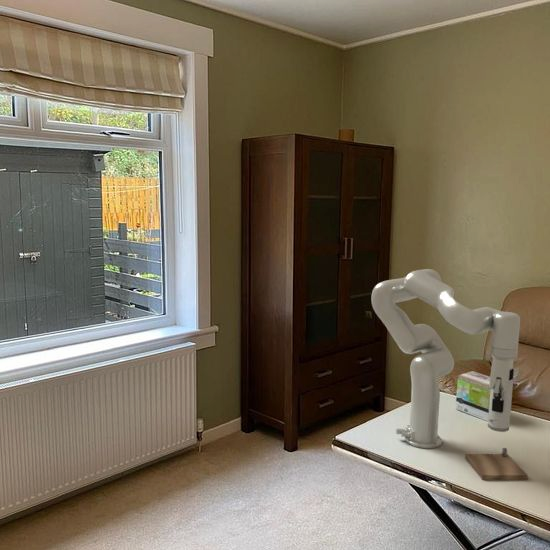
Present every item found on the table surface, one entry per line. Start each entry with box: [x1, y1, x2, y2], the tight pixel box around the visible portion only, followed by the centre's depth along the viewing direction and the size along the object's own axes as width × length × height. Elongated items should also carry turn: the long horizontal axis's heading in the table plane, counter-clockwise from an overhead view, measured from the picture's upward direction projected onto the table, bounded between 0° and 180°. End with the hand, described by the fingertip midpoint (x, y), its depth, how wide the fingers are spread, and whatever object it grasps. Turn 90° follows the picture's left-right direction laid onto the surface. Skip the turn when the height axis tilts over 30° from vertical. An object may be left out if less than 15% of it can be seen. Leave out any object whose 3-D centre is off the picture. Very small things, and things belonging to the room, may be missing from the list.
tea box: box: [455, 370, 491, 423], centre depth 221 cm, size 15×10×15 cm, turn 37°
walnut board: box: [464, 447, 529, 481], centre depth 176 cm, size 14×14×4 cm
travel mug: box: [487, 368, 515, 433], centre depth 173 cm, size 6×7×20 cm
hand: (499, 407), depth 174 cm, fingers closed on travel mug, 6 cm apart
